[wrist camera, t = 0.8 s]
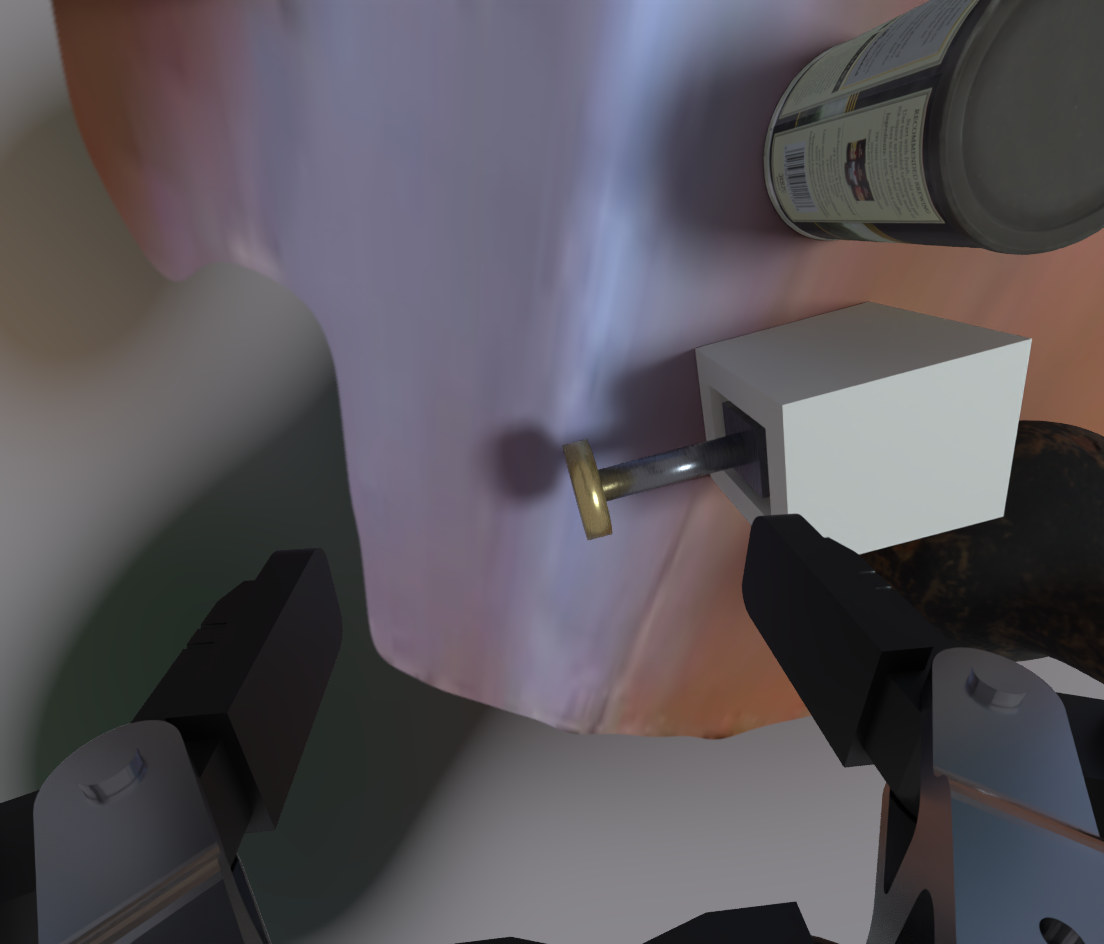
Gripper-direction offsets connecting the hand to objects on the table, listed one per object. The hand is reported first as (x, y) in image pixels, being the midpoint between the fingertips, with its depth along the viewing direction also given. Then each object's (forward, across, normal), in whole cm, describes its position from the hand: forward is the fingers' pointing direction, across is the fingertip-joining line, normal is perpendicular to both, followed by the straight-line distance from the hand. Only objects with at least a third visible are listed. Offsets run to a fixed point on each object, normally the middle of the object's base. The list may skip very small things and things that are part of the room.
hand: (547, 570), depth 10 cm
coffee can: (+27, +20, +9) cm, 35 cm away
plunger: (+24, +9, -8) cm, 26 cm away
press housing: (+27, +19, -6) cm, 33 cm away
